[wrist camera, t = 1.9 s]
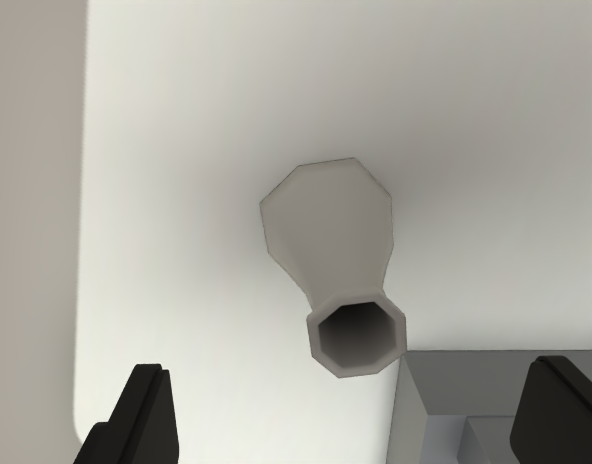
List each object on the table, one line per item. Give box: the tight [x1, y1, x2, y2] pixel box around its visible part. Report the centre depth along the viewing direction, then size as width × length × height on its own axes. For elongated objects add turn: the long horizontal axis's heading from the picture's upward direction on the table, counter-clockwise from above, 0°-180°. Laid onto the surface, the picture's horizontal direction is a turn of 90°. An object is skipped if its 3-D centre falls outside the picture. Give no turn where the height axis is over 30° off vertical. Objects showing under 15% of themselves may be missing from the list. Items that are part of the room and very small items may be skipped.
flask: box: [260, 158, 407, 378], centre depth 17 cm, size 7×7×10 cm
